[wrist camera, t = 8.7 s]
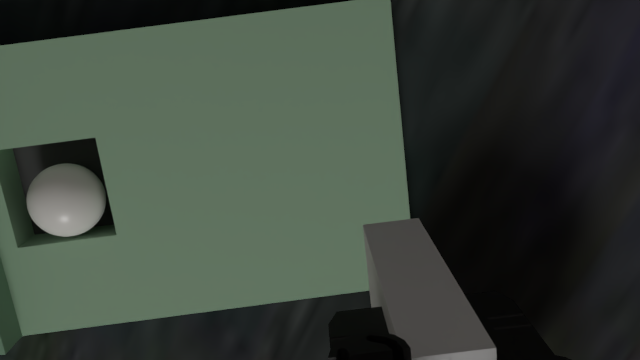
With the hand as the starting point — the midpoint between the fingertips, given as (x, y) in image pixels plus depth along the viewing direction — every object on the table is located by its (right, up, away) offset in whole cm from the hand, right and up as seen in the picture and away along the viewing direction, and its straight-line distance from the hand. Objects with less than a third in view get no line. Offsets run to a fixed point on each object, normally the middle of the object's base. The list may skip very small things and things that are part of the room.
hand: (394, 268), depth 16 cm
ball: (-16, +1, +16) cm, 23 cm away
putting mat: (-9, +3, +18) cm, 21 cm away
